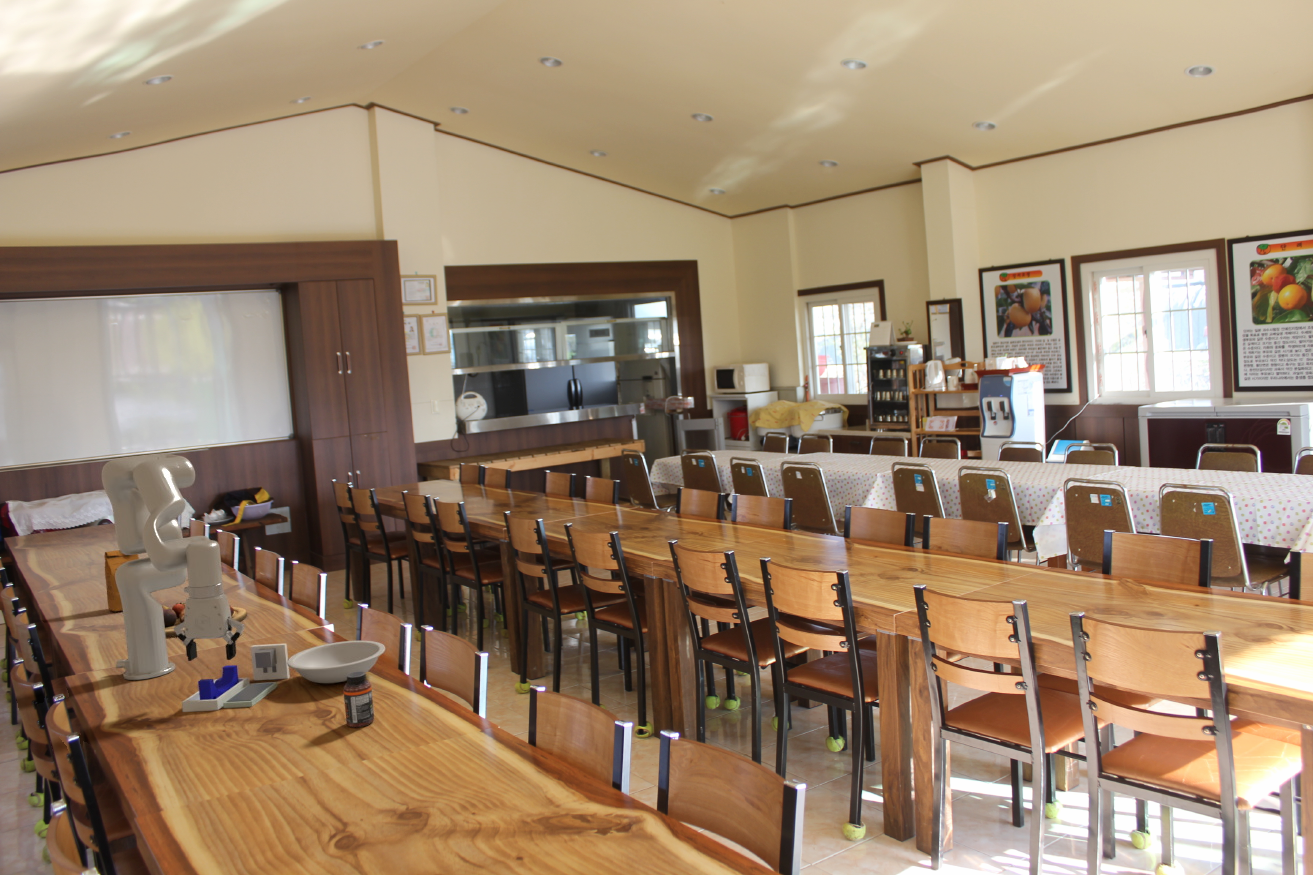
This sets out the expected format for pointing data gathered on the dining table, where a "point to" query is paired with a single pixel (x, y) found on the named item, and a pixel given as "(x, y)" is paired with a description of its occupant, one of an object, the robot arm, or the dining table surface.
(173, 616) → the wooden plate with food
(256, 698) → the phone
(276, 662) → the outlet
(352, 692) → the supplement bottle
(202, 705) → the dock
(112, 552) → the coffee package
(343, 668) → the soup bowl
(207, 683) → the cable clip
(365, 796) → the dining table surface
